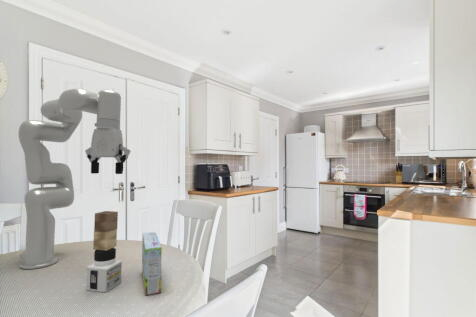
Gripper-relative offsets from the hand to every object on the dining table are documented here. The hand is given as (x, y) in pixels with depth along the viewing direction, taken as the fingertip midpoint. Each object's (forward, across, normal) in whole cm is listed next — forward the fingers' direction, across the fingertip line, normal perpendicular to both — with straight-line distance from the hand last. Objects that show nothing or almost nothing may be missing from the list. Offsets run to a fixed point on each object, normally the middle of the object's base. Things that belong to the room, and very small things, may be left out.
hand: (106, 173), depth 90 cm
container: (+38, +2, -2) cm, 39 cm away
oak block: (+25, +2, -2) cm, 25 cm away
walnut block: (+19, +2, -2) cm, 20 cm away
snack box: (+39, +15, +5) cm, 42 cm away
